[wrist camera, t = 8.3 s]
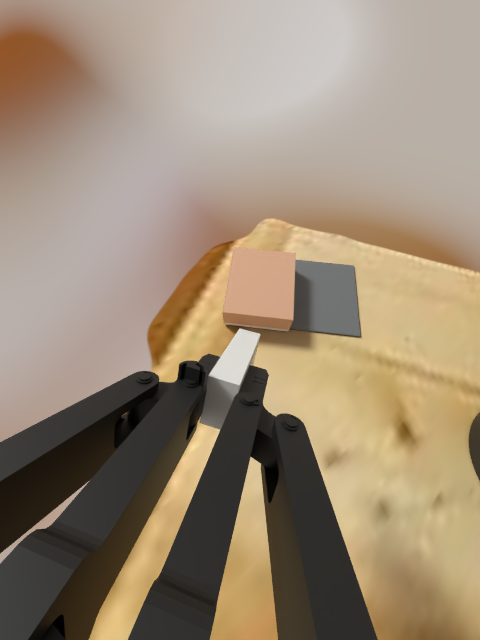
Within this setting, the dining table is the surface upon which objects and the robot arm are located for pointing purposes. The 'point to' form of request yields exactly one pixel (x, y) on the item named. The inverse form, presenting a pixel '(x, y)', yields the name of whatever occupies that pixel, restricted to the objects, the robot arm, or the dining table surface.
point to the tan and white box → (260, 289)
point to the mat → (325, 298)
